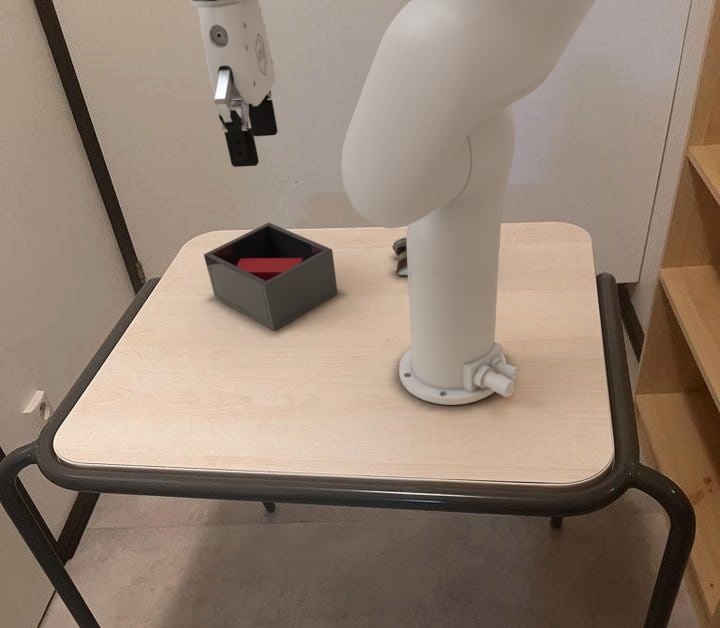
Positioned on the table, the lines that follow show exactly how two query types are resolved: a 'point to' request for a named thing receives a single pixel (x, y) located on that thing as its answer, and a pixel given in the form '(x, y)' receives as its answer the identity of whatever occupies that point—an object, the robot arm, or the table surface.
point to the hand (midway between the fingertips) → (256, 149)
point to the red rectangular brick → (267, 266)
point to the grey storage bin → (281, 293)
